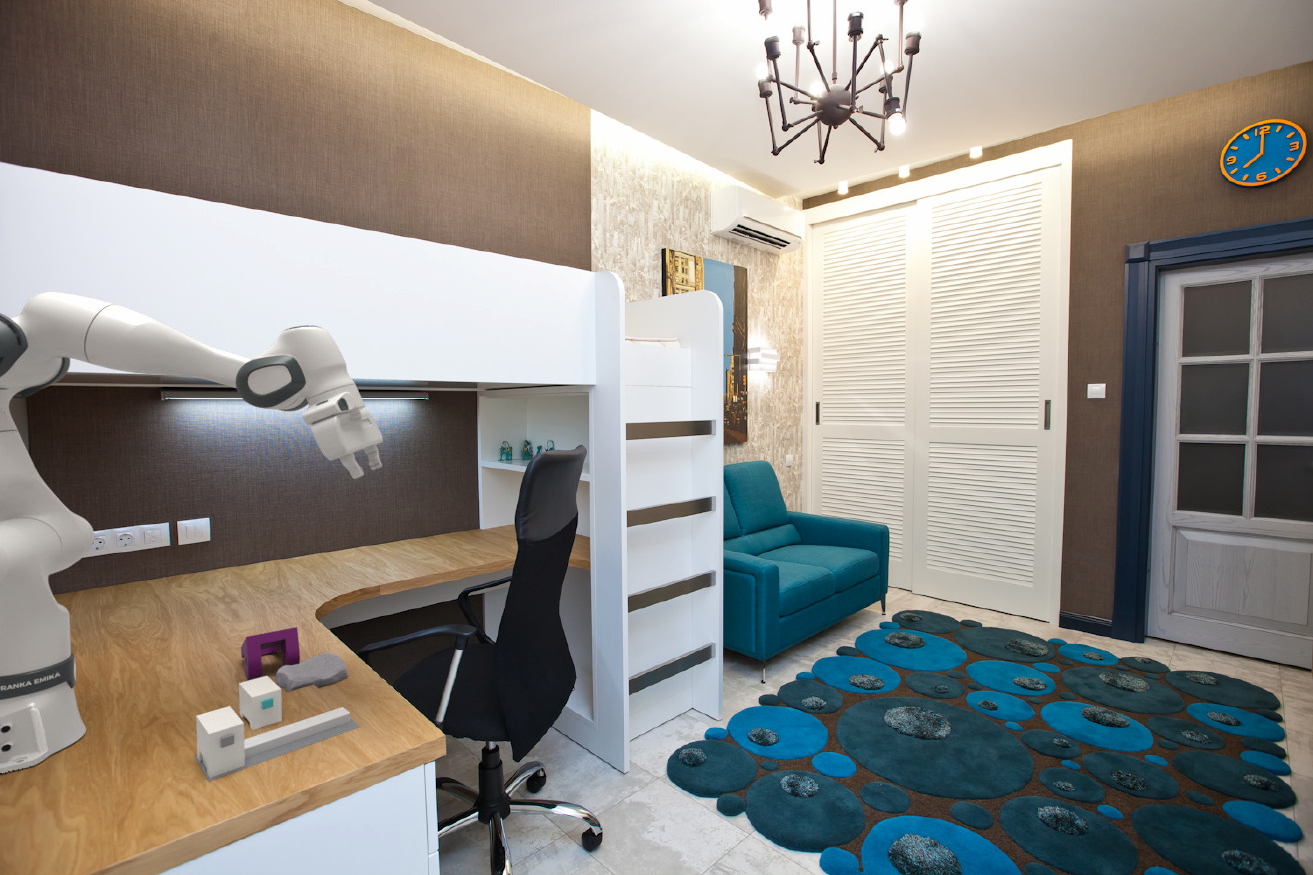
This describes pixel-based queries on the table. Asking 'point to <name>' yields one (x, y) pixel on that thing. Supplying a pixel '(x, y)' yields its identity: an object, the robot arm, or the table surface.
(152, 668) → the table surface
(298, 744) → the rail plate
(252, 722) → the block
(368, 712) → the table surface
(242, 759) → the white grey-marked block
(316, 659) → the stone block
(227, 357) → the robot arm
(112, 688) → the table surface
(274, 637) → the mounting bracket
